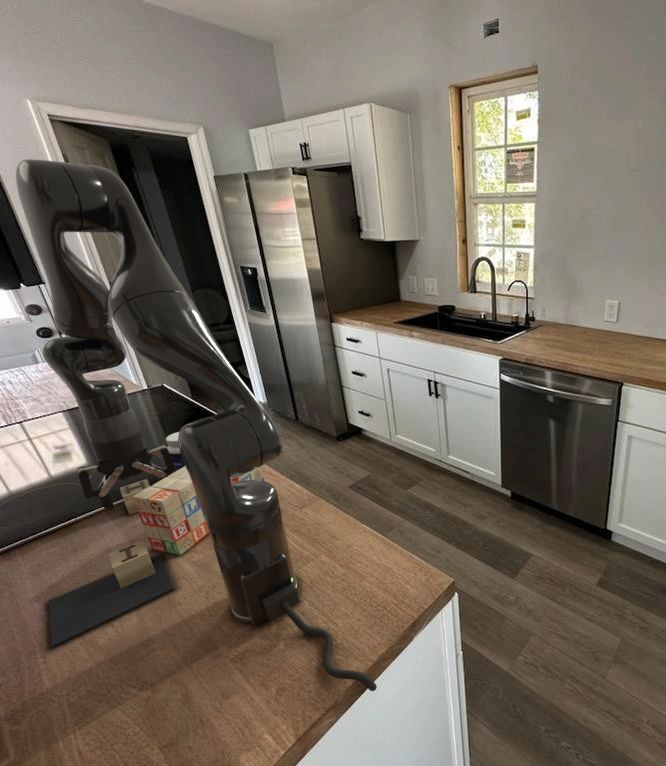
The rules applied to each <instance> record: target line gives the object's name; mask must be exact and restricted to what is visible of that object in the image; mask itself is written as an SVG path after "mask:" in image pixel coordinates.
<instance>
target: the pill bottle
mask: <svg viewBox="0 0 666 766" xmlns="http://www.w3.org/2000/svg"><path fill="white" fill-rule="evenodd" d="M179 432H180V431H177V432H173V433H170V434H168V436H166V438H165V442H166V444H167V445H168V446H166V447H167V449H168V451H169V453H170V456H171V458H172V461H173V463H174V465H175V468H176V470H175V471H174V472H176V471H177V470H179V469H181V468H183V467H184V466H185V464H184V461H183V458H182V455H181V453H180V449H179V444H178V435H179ZM174 472H172V473H174Z"/></svg>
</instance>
